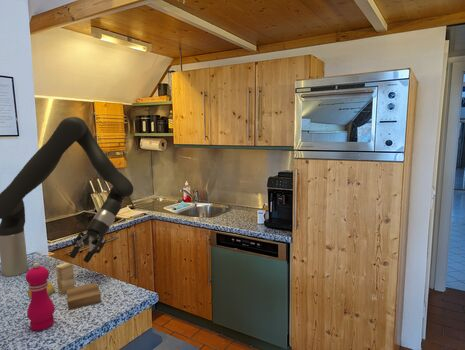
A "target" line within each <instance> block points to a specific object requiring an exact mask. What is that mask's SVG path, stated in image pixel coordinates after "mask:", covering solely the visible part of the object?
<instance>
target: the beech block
mask: <svg viewBox="0 0 465 350" xmlns="http://www.w3.org/2000/svg"><path fill="white" fill-rule="evenodd" d="M55 271H56V282H57V292H58V293H60V294H62V295H67V289H69V288H74V287H76V285H75V277H74V276H75V274H74V264H72V263H69V262H63V263H60V264H58V265H56V266H55Z"/></svg>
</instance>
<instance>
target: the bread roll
mask: <svg viewBox="0 0 465 350" xmlns="http://www.w3.org/2000/svg"><path fill="white" fill-rule="evenodd" d="M55 290H56V289H55V286H54V285H53V284H52V282H50V281H48V286H47V294H48V296H49V297H50V296H51V295H52V294H53V293H54V292H55ZM27 293H28V296H29V298H30V299H31V291H30V290H29V289H28V290H27Z"/></svg>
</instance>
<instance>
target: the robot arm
mask: <svg viewBox="0 0 465 350" xmlns="http://www.w3.org/2000/svg"><path fill="white" fill-rule="evenodd" d="M75 143H77V144H78V145H79V146H80V147H81V148H82V150H83V151H84V152H85V154H86V156H87V157H88V159H89V161H90V163H91V165H92V167H93V168H94V170H95V171H96V172H97V174H98V175H99V176H100V177H101V178H102V180H104V182H106V183H109V184H110V185H111V186H112V188H110V190H109V192H108V194H107V197H106V200H104V202H103V203H102V205H101V207H100V208H99V209H98V211H97V212H96V213H95V215H94V217H93V218H92V219H91V221H90V222H89V224H88V225H87V227H86V232H83V231H80V232H79V233H78V235H77V236H76V237H75V239H74V240H73V241H72V243H71V245H72V246H73V248H72V250H71V252H70V253H69V255H68V257H69V258H71V259H75V258H76V257H77V254H79V251H80V250H81V249H82V248H85V247H88V248H89V251H87V252H86V254H85V256H84V257H83V262H84V263H87V264H88V263H90V262H91V259H92V258H93V256H94V255H95V254H100V253H101V251H102V249H103V247H104V246H105V244H106V242H107V239H106V238H105V236H106V234H108V232H109V230H110V228H111V226H112V225H113V223H114V222H115V219H116V217H117V215H118V214H119V213H120V211H121V208H122V203H123V201H124V199H125V198H128V197H130V196H132V195H133V193H134V185H133V183H132V182H131V180H129V179H128V178H127V177H126V176H125V175H124V174H123V173H122V172H120V171H119V170H118V168H116V166H115V164H114V163H113V162H112V161H111V160H110V158H109V157H108V155H106V153H105V151H104V150H103V149H102V148H101V146H100V145H99V144H98V142H97V141H96V139H95V137H94V136H93V134H92V132H91V130H90V128H89V127H88V125H87V123H86V121H84V119H83V118H81V117H79V116H70V117H67V118H64V119H63V120H61V121H60V123H58V125H57V127H56V128H55V130H54V132H53V133H52V134H51V136H50V137H49V139H48V140H47V141H46V142H45V143H44V144H43V145H42V146H41V147H40V148H39V149H38V150H37V151H36V152H35V153H34V154H33V155H32V157H30V158H29V160H28V161H27V162H26V164H25V165H24V166H23V167H22V169H21V170H19V172H18V173H17V175H15V177H14V178H13V179H12V180H11V182H10V184H8V185H7V186H6V188H4V190H2V191H1V192H0V220H1V221H0V268H1V274H2V276H3V277H15V276H18V275H22V274H24V273H27V272H28V271H29V266H28V265H29V264H28V253H27V247H26V237H25V236H26V235H25V224H26V210H25V209H26V207H25V202H24V198H25V197H26V196H27V195H28V194H30V193H31V192H32V191H33V190H35V189H36V188H38V187H39V186H40V185H41V184H42V183H43V182H44V181H45V180H46V179H48V178H49V177H50V176H51V174H52V172H53V171H54V170H55V169H56V167H57V166H58V164H59V162H60V160H61V158H62V157H63V155H64V154H65V152H66V151H68V149H69V148H70V147H72V145H73V144H75Z"/></svg>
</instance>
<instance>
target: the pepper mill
mask: <svg viewBox="0 0 465 350" xmlns="http://www.w3.org/2000/svg"><path fill="white" fill-rule="evenodd" d="M49 277H50V272H49V270H48V268H47V267H44V266H43V265H42V266H41V264H40V263H39V262H34V263H33V265H32V268H30V269H28V270H27V271H26V274H25V281H26V282H27V284H28V290H30V291H31V298H30V303H29V305H28V308H27V313H26V314H27V315H26V316H27V319H29V321H30V322H29V326H30V329H31V330H32V331H38V332H39V331H43V330H45V329H48V328H50V327H51V326H52V325H53V324H54V323H55V319H54V317H55V316H54V315H53V314H54V313H55V311H56V310H55V305H54V302H53V300H52V299H51V298H50V295H49V296H48V294H47V286H48V282H49V281H48V278H49Z"/></svg>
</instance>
